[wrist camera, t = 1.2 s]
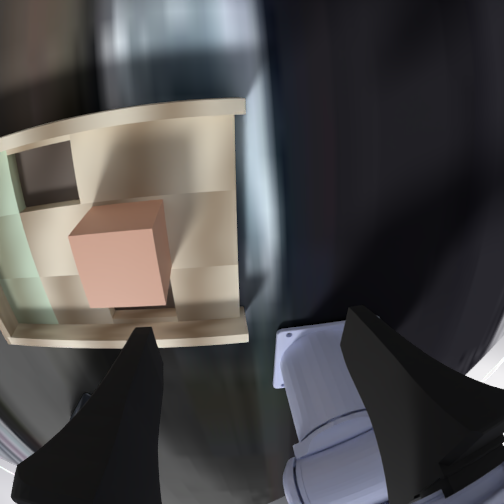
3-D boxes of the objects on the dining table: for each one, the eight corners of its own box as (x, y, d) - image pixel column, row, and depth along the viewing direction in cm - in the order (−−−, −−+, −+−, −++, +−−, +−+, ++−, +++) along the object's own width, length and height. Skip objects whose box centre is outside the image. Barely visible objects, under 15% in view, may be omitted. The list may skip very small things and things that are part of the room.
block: (162, 199, 18) (152, 228, 14) (171, 265, 20) (166, 305, 16) (91, 206, 17) (67, 236, 14) (107, 270, 19) (90, 308, 16)
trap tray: (239, 97, 16) (245, 98, 14) (243, 314, 24) (248, 341, 21) (-35, 150, 14) (-60, 161, 11) (20, 321, 22) (8, 344, 19)
